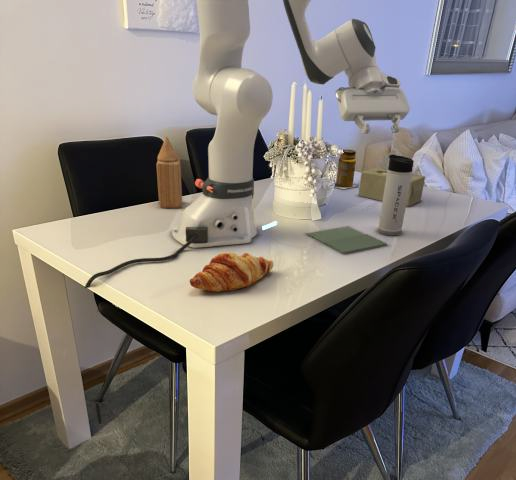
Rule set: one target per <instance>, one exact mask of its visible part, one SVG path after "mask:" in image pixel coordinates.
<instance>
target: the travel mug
mask: <svg viewBox="0 0 516 480" xmlns="http://www.w3.org/2000/svg"><path fill="white" fill-rule="evenodd" d="M388 155H389V154H388ZM389 158H390V160H389V166H388V172H387V177H386V183H385V189H384V196H383V201H381V202H382V203H381V209H380V215H379V221H378V227H377V232H378V233H379V234H381V235H384V236H390V237H391V236H392V237H393V236H395V237H397V236H399V235H401V234H402V230H403V224H404V219H405V213H406V203H407V198H408V192H409V187H410V181H411V176H412V174H413V168H414V160H413V158H410V157H408V156H407V157H403V156H397V155H394V154H392V155H389Z"/></svg>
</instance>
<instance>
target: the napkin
mask: <svg viewBox="0 0 516 480" xmlns="http://www.w3.org/2000/svg"><path fill="white" fill-rule="evenodd" d="M306 235H307V236H309V237H311V238H313V239H315V240H316V241H318V242H321V243H322V244H324V245H326V246H328V247H330V248H332V249H333V250H335V251H336V252H337V251H338V252H339V253H341V254H343V255H347V254H352V253H353V254H354V253H357V252H362V251H367V250H372V249H376V248H383V247H387V246H388V243H387V242H385V241H383V240H380V239H378V238H376V237H374V236H372V235H369V234H368V233H363V232H361V231H359V230H357V229H354V228H352V227H350V226H341V227H336V228H330V229H325V230H318V231H314V232H313V231H312V232H307V233H306Z"/></svg>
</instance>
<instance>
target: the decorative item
mask: <svg viewBox="0 0 516 480" xmlns="http://www.w3.org/2000/svg"><path fill="white" fill-rule="evenodd" d="M156 159H157V162H156V177H157V191H158V192H157V193H158V205H159V207H160V208H161V209H180V208H182V205H183V189H182V169H181V168H182V167H181V159H180V158H179V156H178V155H177V153H176V151H175V149H174V147H173V145H172V143H171V141H170V139H169V138H168V136H165V139H164V141H163V143H162V145H161V148H160V150H159V152H158V154H157V158H156Z"/></svg>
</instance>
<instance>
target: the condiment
mask: <svg viewBox="0 0 516 480" xmlns="http://www.w3.org/2000/svg"><path fill="white" fill-rule="evenodd" d="M342 150H343V152H344V153H343V154H341V153H340V154H339V158H338V162H337V170H336V171H337V172H336V179H335V180H336V181H335V182H334V183H335V186H334V187H333V188H336V189H341V190H346V189H350V188H355V187H358V185H357V184H354V178H355V171H356V163H357V159H356V155H357V154H356V153H357V151H356V150H353V149H342Z"/></svg>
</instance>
